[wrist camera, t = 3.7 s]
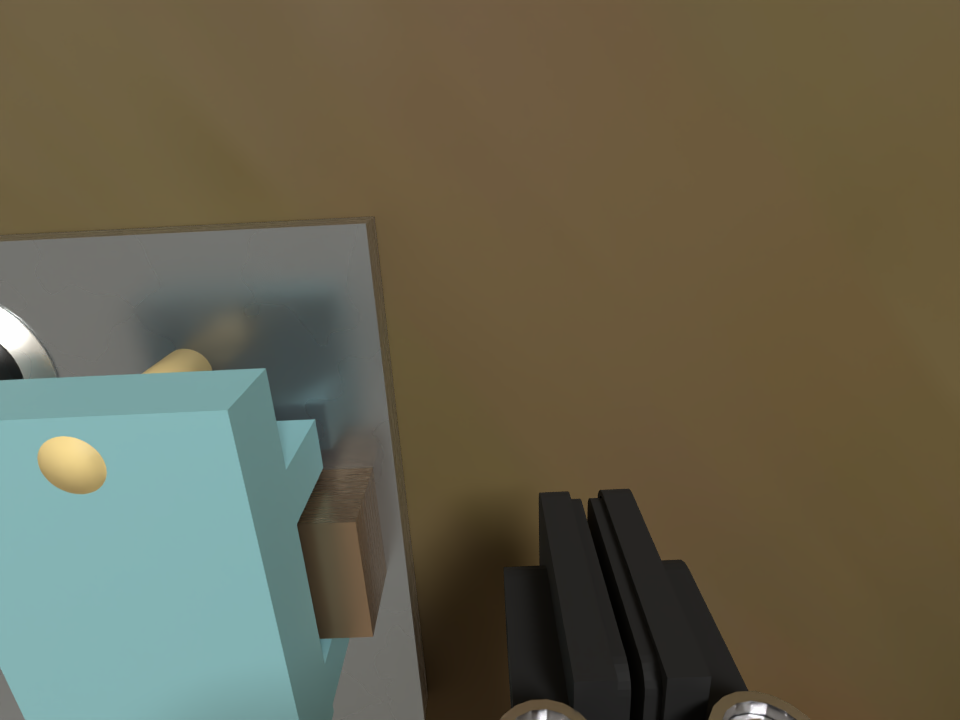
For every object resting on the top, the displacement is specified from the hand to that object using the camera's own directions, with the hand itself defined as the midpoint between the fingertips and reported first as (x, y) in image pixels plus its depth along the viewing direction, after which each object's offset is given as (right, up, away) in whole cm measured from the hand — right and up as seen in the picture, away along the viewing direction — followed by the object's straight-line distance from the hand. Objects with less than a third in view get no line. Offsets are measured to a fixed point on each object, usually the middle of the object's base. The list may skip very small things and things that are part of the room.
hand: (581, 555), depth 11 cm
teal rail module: (-8, 0, +2) cm, 8 cm away
